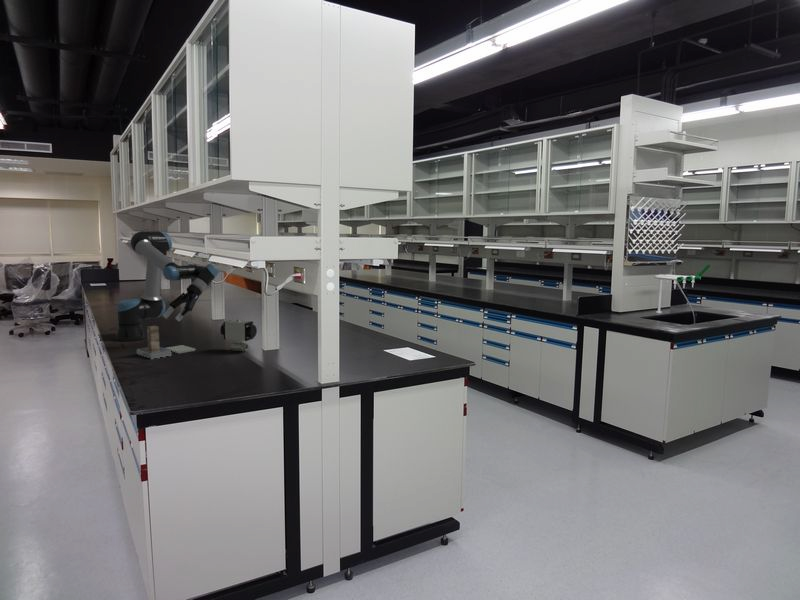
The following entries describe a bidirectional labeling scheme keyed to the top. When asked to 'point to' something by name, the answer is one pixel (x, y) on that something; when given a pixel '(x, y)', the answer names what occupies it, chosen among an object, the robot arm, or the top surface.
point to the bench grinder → (238, 333)
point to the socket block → (154, 353)
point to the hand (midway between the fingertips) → (170, 318)
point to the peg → (153, 338)
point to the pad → (181, 349)
